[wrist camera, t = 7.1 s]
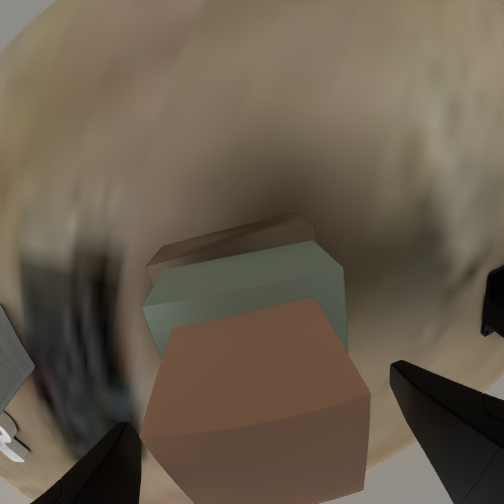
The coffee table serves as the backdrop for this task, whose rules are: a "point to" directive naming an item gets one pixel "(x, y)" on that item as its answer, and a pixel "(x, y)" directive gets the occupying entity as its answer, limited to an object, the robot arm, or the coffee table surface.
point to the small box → (11, 362)
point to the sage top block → (246, 288)
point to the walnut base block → (232, 243)
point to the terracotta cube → (260, 409)
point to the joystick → (10, 440)
